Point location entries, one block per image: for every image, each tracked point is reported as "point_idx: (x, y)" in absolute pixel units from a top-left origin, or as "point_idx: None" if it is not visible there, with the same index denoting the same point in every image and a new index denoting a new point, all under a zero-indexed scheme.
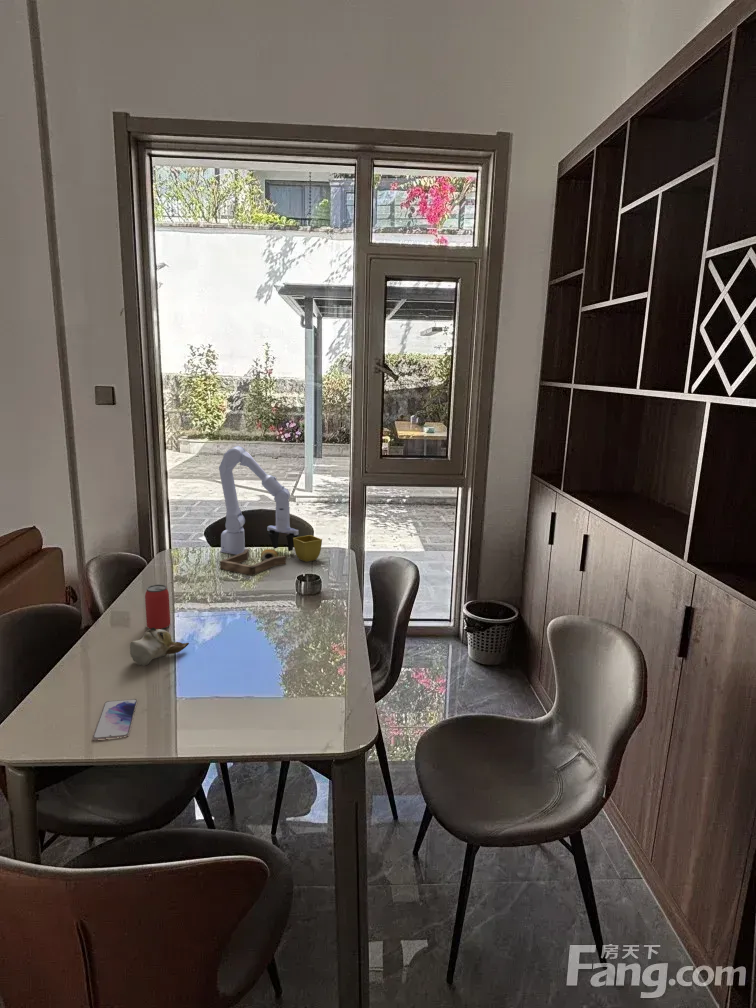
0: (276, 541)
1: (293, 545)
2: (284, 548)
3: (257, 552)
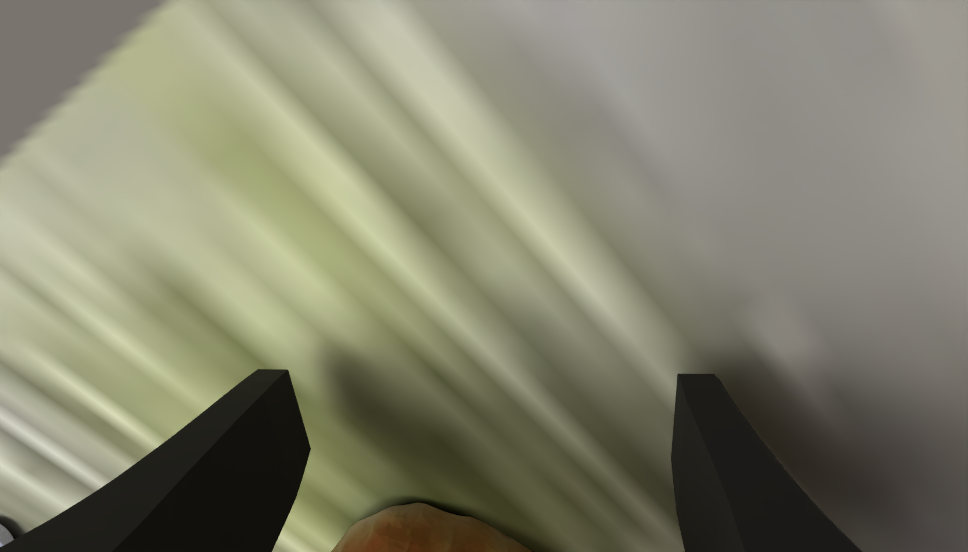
0: (221, 511)
1: (764, 450)
2: (280, 115)
3: None
